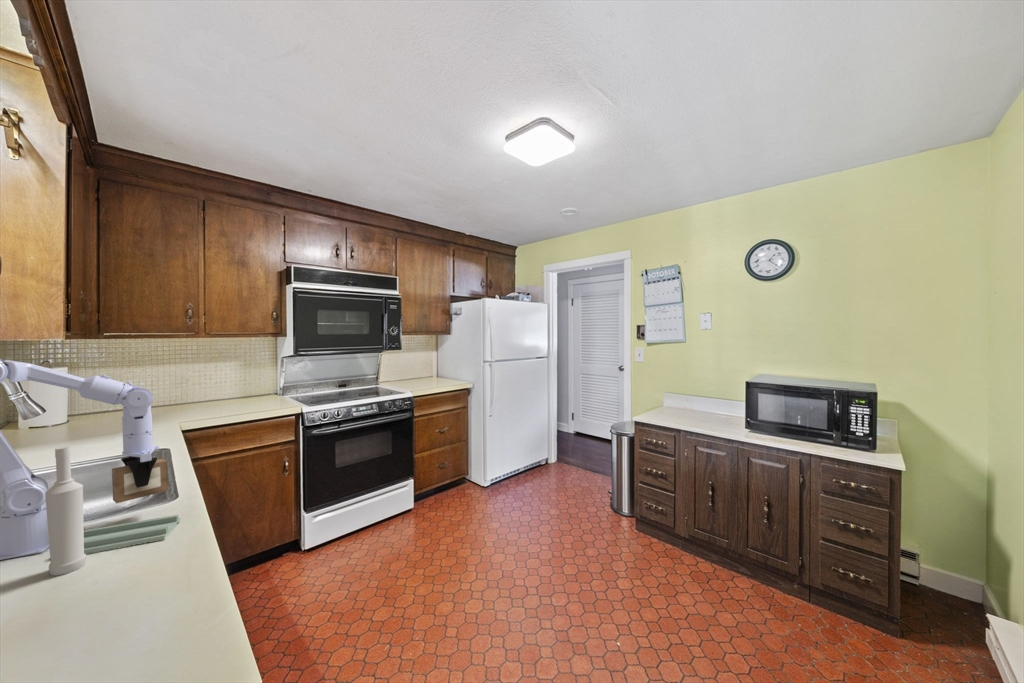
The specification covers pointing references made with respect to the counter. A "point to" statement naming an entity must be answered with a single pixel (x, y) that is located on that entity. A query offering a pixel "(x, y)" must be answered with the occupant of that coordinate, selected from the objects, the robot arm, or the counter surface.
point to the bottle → (65, 518)
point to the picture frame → (127, 488)
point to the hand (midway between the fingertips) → (139, 484)
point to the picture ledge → (128, 534)
